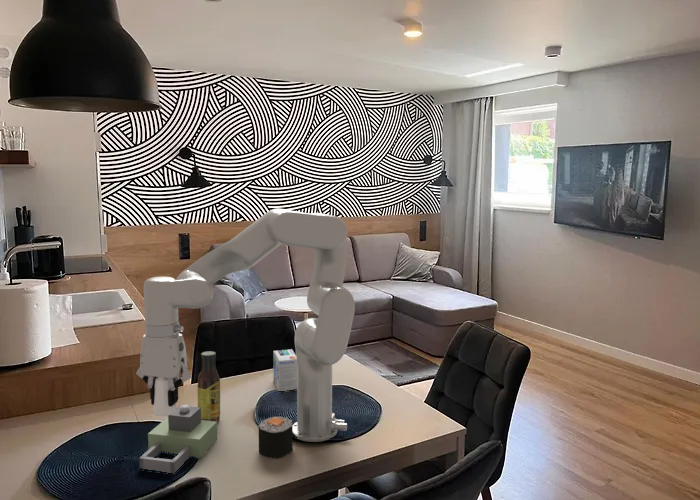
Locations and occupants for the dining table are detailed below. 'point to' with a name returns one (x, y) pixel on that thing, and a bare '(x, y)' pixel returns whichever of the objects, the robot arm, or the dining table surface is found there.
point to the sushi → (275, 437)
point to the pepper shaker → (162, 398)
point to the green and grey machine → (179, 439)
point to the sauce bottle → (209, 388)
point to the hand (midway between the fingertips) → (164, 402)
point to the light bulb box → (285, 370)
